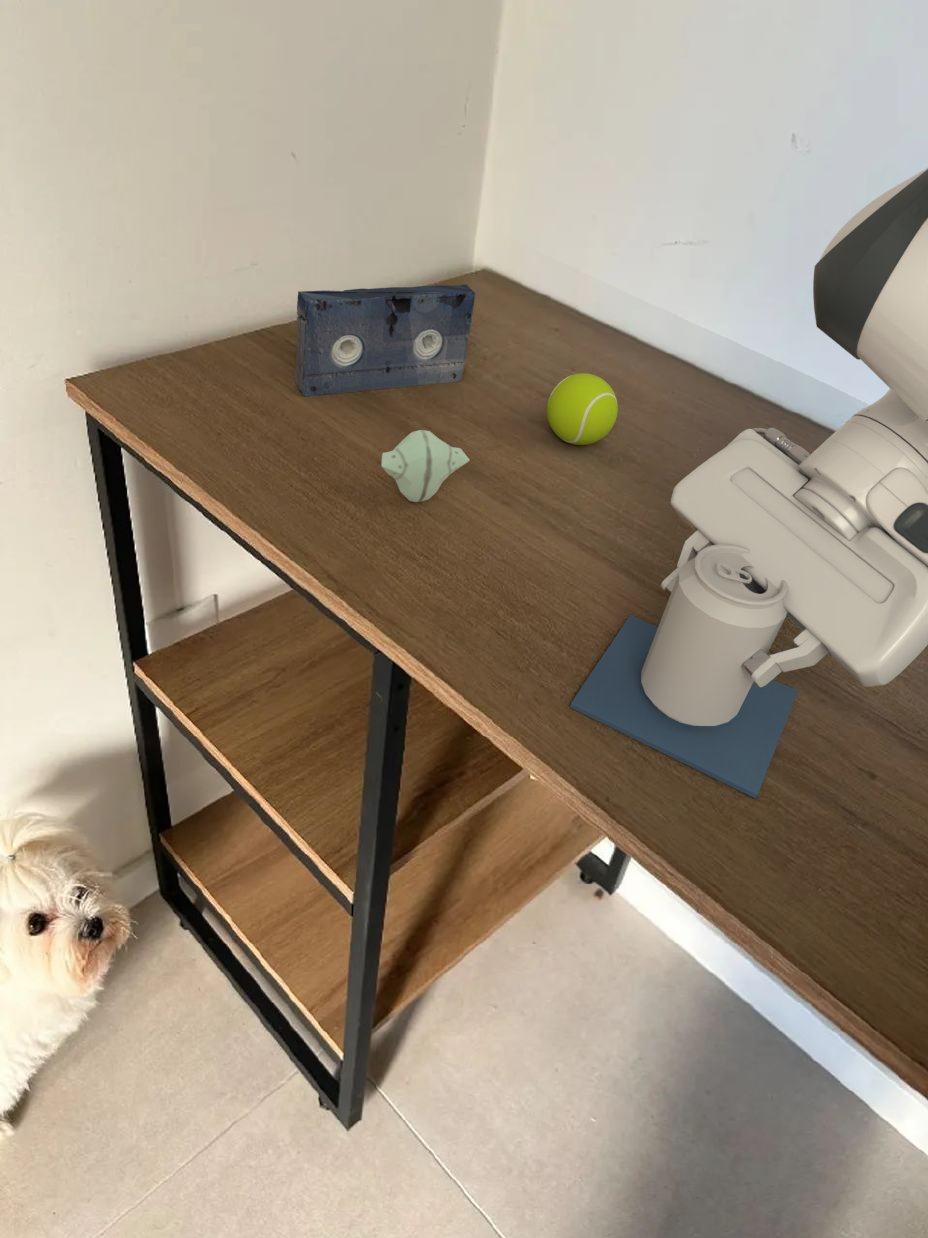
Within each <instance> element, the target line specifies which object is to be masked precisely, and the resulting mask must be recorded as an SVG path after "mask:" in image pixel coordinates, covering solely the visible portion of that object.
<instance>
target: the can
mask: <svg viewBox="0 0 928 1238" xmlns="http://www.w3.org/2000/svg"><path fill="white" fill-rule="evenodd" d="M750 552H751V551H750V550H749V549H748V548H746V547H741V546H737V545H732V544H717V545H712V546H707V547H706V548H704V549H702V550H701V551H699V552H698V554H697V556H696V557H695V558H693V559H692V560H690V561H688V562H687V563H685V564H684V565H683V567H682V569H681V570H680V572H679V574H678V577H677V579H676V582H675V584H674V587H673V590H672V592H671V595H670V596H669V598H668V600H667V603H666V606H665V608H664V611H663V614H662V616H661V618H660V621H659V624H658V626H657V627H658V629H657V632H656V634H655V637H654V640H653V642H652V645H651V648H650V650H649V653H648V655H647V658H646V661H645V663H644V666H643V669H642V673H641V683H642V686H643V688H644V691H645V694H646V695H647V696H648V697H649V699H650V700H651V701H652V702H653V704H654V705H655V706H657V708H658V709H659V710H660V711H662V712H663V713H664V714H666V715H667V716H668V717H670V718H672V719H674V720H676V721H678V722H680V723H684V724H688V725H692V726H717V725H720V724H723V723H726V722H729V721H730V720H731V719H732V718H734V717H735V716H736V715H737V714H738V712H739V710H740V708H741V706H742V704H743V702H744V700H745V698H746V696H747V694H748V692H749V690H750V688H751V686H752V684H753V682H754V681H753V680H752V679H751V678H750V677H749V675H748V674H747V673H746V672H745V671H744V670H743V669H742V665H743V663H744V662H745V661H746V660H747V659H752V656H753V654H754V653H756V652H757V651H758V650H759V649H762V650H763V651H764V652H765V653H766V654H767V655H769V652H770V649H771V647H772V646H773V644H774V641H775V640H776V637H777V635H778V633H779V631H780V629H781V627H782V626H783V623H784V621H785V619H786V618H787V616H786V615H787V613H788V611H787V610H786V609H785V608H784V605H783V601H782V599H783V598H784V597H785V595H786V592H787V590H788V585H787V582H786V581H784V580H781V586H780V590H779V589H778V588H777V587H776V586H775V585H773V584H772V583H771V582H770V581H769V580H768V579H767V578H766V577H765V578H766V580H767V583H768V590H767V591H766V592H765V593H763V594H762V593H761V592H760V591H759V590H757V589H756V588H755V587H754V586H753V585H755V586H758V587H760V586H759V585H758V584H757V583H756V582H755V581H754V580H753V579H752V577H751V576H750V574H749V573H747V572H745V571H743V570H742V569H741V568H742V567H744V566H751V567H753V566H752V565H751V564H750V563H749V562H748V561H747V560H746V559H744V558H743V557H742V556H741V554H743V553H750ZM752 584H753V585H752Z"/></svg>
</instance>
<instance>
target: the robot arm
mask: <svg viewBox="0 0 928 1238" xmlns="http://www.w3.org/2000/svg"><path fill="white" fill-rule="evenodd" d="M812 296H813V297H812V299H813V310H814V318H815V325H816V328H817V329H819V330H820V331H821V332H823V334H825V335H826V336H827V337H829V338H830V339H831V340H832V341H833V342H835V344H837V345H838V346H840V347H841V348H842V349H843V350H845V352H847V353H848V354H850V355H851V356H852V357H853V358H854V359H856V360H858V361H862V362H863V364H865V365H866V367H868V368H869V369H870V370H871V371H872V372H873V373H874V374H875V375H876V376H877V378H879V379H880V380H881V381H882V382H883V383H884V384H885V385H886V386H887V387H888V388H889V390H887V392H886V393H885V394H884V395H882V397H880V398H879V399H877V400H876V401H875V402H873V403H871V404H870V405H868V406H866V407H864V408H861V409H860V410H858V411H857V412H856V413H854V414H852V416H851V417H850V418H849V419H848V420H847V421H845V422H844V423H842V425H840V427H839V428H838V429H837V430H835V431H834V432H833V433H832V434H831V435H830V436H829V437H828V438H827V439H826V440H825V441H824V442H822V443H821V444H820V445H819V446H818V447H817V448H816V449H815V450H814V451H812V453H810V452H809V451H807V450H806V449H805V448H803V447H802V446H801V445H799V444H796V443H795V442H793V441H792V440H790V439H789V438H788V437H787V436H786V434H784V432H782V431H781V430H779V429H777V428H775V427H768V428H764V427H755V428H754V427H753V428H746V429H744V430H743V431H742V432H740V433H739V434H738V435H737V436H735V438H734V439H732V440H731V442H729V443H728V444H727V445H726V446H725V447H724V448H723V449H721V450H720V451H718V452H716V453H714V454H713V455H712V456H710V457H709V458H708V459H706V460H705V461H704V462H702V463H701V464H700V465H698V466H697V467H696V468H695V469H693V470H692V471H691V472H690V473H689V474H687V475H686V476H684V478H682V479H681V480H680V481H679V482H678V483H677V484H676V485H675V486H674V488H673V490H672V493H671V497H670V505H671V507H672V509H673V510H674V511H675V513H676V515H677V516H678V517H679V518H680V520H681V521H682V522H683V524H685V525H686V526H687V527H689V529H690V530H692V531H693V533H692V534H691V535H690V536H689V537H688V538H687V539H686V540H685V541H684V544H683V546H682V549H681V552H680V556H679V558H678V562H677V564H676V568H675V569H674V570H673V571H672V572H671V573H670V574H669V575H668V576H666V577H665V578H664V580H662V582H661V584H660V587H661V589H662V590H663V591H664V592H665V593H666V594H667V595H668V596H669V597H670V595H671V592H672V590H673V587H674V584H675V582H676V579H677V577H678V574H679V572H680V570H681V569H682V567H683V565H684V564H685V563H687V562H688V561H690V560H692V559H693V558H695V557H696V556H697V554H698V552H699V551H701V550H702V549H704V548H706V547H707V546H712V545H717V544H732V545H737V546H741V547H746V548H748V549H749V550H750V551H751V552H750V553H743V554H741V556H742V557H743V558H744V559H746V560H747V561H748V562H749V563H750V564H751V565H752V566H753V567H751V566H744V567H742V568H741V569H742V570H743V571H745V572H747V573H749V574H750V576H751V577H752V579H753V580H754V581H755V582H756V583H757V584H758V585H759V586H760V587H758V586H755V585H753V584H752V585H753V586H754V587H755V588H756V589H757V590H759V591H760V592H761V593H762V594H763V593H765V592H766V591H767V590H768V583H767V580H766V578H767V579H768V580H769V581H770V582H771V583H772V584H773V585H775V586H776V587H777V588H778V589H779V590H780V586H781V580H784V581H786V582H787V585H788V590H787V592H786V595H785V597H784V598H783V599H782V601H783V605H784V608H785V609H786V610H787V611H788V613H787V615H786V618H787V619H789V620H790V621H791V622H792V623H793V624H794V625H795V626H796V627H797V628H798V629H800V630H801V632H800V633H799V634H798V635H796V637H795V638H794V639H793V643H794V645H795V646H796V647H792V648H791V649H790V648H789V649H786V650H783V651H779V652H776V653H773V654H766V653H765V652H764V651H763V650H762V649H759V650H758V651H757V652H756V653H754V654H753V656H752V659H747V660H746V661H745V662H744V663H743V665H742V669H743V670H744V671H745V672H746V673H747V674H748V675H749V677H750V678H751V679H752V680H753V681H754V682H755V683H756V684H757V685H758V686H759V687H763V686H765V685H767V684H768V683H769V682H770V681H771V680H772V679H773V680H775V678H776V677H777V676H778V675H780V673H787V672H791V671H795V670H800V669H804V668H805V669H806V668H809V667H814V666H816V665H817V664H818V663H819V662H821V660H823V658H825V657H826V656H827V655H828V656H829V657H830V658H832V660H833V661H835V662H836V663H837V664H838V666H840V667H841V668H842V669H844V670H845V671H846V672H847V673H848V675H850V676H851V677H852V678H853V679H854V680H856V681H857V682H858V683H859V684H860V685H861V686H862V687H864V688H871V687H880V686H885V685H888V684H889V683H891V682H892V681H893V680H894V679H895V678H896V677H898V676H899V675H900V674H901V673H902V672H903V671H904V670H905V669H906V668H907V667H908V666H910V665H911V663H913V661H915V659H916V658H917V657H918V656H919V655H920V654H921V653H922V652H923V651H924V650H925V648H926V647H927V646H928V167H926V168H924V169H923V170H921V171H919V172H918V173H916V174H914V175H913V176H910V177H909V178H907V179H905V180H903V181H902V182H900V183H898V184H897V185H895V186H893V187H891V188H890V189H888V190H886V191H885V192H883V193H882V194H880V195H879V196H878V197H876V198H874V199H873V200H872V201H870V202H869V203H868V204H866V205H865V206H864V207H863V208H861V209H860V210H858V212H857V213H856V214H854V215H853V216H852V217H851V218H850V219H848V221H846V223H844V225H843V226H842V227H841V228H840V229H839V230H838V231H837V233H836V234H834V236H833V237H832V238H831V240H830V241H829V243H828V244H827V246H826V247H825V249H824V250H823V252H822V254H821V256H820V258H819V260H818V261H817V263H816V264H815V265H814V268H813V281H812ZM760 434H761V435H760ZM762 435H763V436H762ZM765 577H766V578H765Z"/></svg>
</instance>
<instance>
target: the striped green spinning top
mask: <svg viewBox="0 0 928 1238" xmlns="http://www.w3.org/2000/svg"><path fill="white" fill-rule="evenodd" d="M470 461H471V459H470V458H469V457H468V456H467V455H466V453H465V452H464V450H463V449H462V448H461V447H456V446H455V447H453V446H451V445H450V444H447V442H446V441H443V440H442V439H440V438H438V436H436V435H435V434H433V432H431V430H425V429H424V430H423V429H418V430H415V431H411V432H410V433H408V434H407V435H406V436H405V437H404V438H403V439H402V440H400V442H399V443H398V444H397V445H396V446H395V447H394V448H393V449H392V450H391V451H386V452H382V455H381V462H380V463H381V468H382V469H383V471H385V472H386V474H387V475H389V476H390V477H391V478H392V479H394V481H395V483H396V485H397V487H398V489H399V492H400V493H401V494H402V495H403V496H404V498H406V499H407V500H408V501H409V502H413V503H422V502H426V501H428V500H430V499H431V498H432V497H433V496H434V495H436V493H438V491H439V489H440V488H441V486H442V484H443V482H445V480H446V479H447V478H449V476H450V475H452V474H453V473H454V472H456V471H457V470H459V469H460V468H461V467H463V466H464V465H466V464H467V463H469V462H470Z"/></svg>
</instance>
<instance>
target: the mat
mask: <svg viewBox="0 0 928 1238" xmlns="http://www.w3.org/2000/svg"><path fill="white" fill-rule="evenodd" d="M658 627H659V626H656V625H654V624H652V623H649V622H647V621H645V620H643V619H641V618H638V617H636V616H634V615H632V614H630V615H629V616H628V617H627V619H626V620H625V622H624V623H623V625H622V626H621V628H620V629H619V631H618V632H617V633H616V635H615V637H613V640H612V641H611V643H610V644H609V645H608V647H607V649H606V650H605V652H604V653H603V654H602V656H601V658H600V659H599V661H598V662H597V663H596V665H595V666H594V668H593V669H592V670H591V672H590V674H589V675H588V677H587V678H586V680H585V681H584V683H583V684H582V685H581V687H580V688H579V690H578V691H577V693H576V695H575V696H574V697H573V699H572V700H571V702H570V704H569V708H570V709H572V710H574V711H576V712H578V713H581V714H582V715H584V716H586V717H589V718H590V719H593V720H595V721H596V722H598V723H600V724H602V725H605V726H607V727H609V728H611V729H613V730H615V731H617V732H619V733H621V734H623V735H624V736H627V737H629V738H631V739H633V740H635V741H637V742H639V743H641V744H644V745H645V746H648V747H649V748H652V749H654V750H655V751H657V752H660V753H662V754H663V755H665V756H668V757H670V758H672V759H673V760H676V761H678V762H679V763H682V764H684V765H686V766H688V767H690V768H692V769H694V770H696V771H698V772H701V773H702V774H703V775H706V776H708V777H711V778H713V779H714V780H716V781H718V782H720V783H723V784H725V785H726V786H728V787H730V788H733V789H735V790H737V791H739V792H741V793H743V794H745V795H746V796H749V797H751V798H753V799H756V798H757V797H758V795H759V792H760V790H761V788H762V786H763V784H764V783H763V782H764V781H765V777H766V775H767V772H768V770H769V767H770V765H771V762H772V759H773V757H774V754H775V752H776V750H777V747H778V744H779V742H780V739H781V736H782V733H783V731H784V729H785V726H786V724H787V721H788V718H789V716H790V713H791V711H792V708H793V705H794V703H795V700H796V699H797V696H798V692H799V690H798V689H795V688H794V687H791V686H788V685H787V684H784V683H782V682H779V681H777V680H775V679H772V680H771V681H770V682H769V683H768V684H767V685H765V686H763V687H759V686H758V685H757V684H756V683H755V682H753V684H752V686H751V688H750V690H749V692H748V694H747V696H746V698H745V700H744V702H743V704H742V706H741V708H740V710H739V712H738V714H737V715H736V716H735V717H734V718H732V719H731V720H730V721H729V722H726V723H723V724H720V725H717V726H692V725H688V724H684V723H680V722H678V721H676V720H674V719H672V718H670V717H668V716H667V715H666V714H664V713H663V712H662V711H660V710H659V709H658V708H657V706H655V705H654V704H653V702H652V701H651V700H650V699H649V697H648V696H647V695H646V694H645V691H644V688H643V686H642V683H641V673H642V669H643V666H644V663H645V661H646V658H647V655H648V653H649V650H650V648H651V645H652V642H653V640H654V637H655V634H656V632H657V629H658Z"/></svg>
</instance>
